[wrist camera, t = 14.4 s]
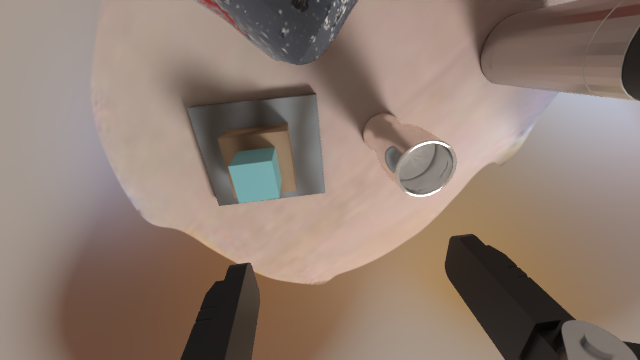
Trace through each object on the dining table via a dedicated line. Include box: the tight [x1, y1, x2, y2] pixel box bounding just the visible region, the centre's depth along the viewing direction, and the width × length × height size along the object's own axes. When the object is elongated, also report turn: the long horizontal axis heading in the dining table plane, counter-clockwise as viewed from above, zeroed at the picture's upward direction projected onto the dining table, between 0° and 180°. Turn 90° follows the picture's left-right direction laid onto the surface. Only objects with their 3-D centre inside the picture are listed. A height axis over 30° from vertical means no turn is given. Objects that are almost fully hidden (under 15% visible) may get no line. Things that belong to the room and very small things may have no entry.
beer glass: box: [363, 113, 457, 197], centre depth 32 cm, size 7×7×15 cm
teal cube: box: [228, 147, 282, 203], centre depth 31 cm, size 5×5×5 cm
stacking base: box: [187, 93, 325, 206], centre depth 36 cm, size 18×16×6 cm
